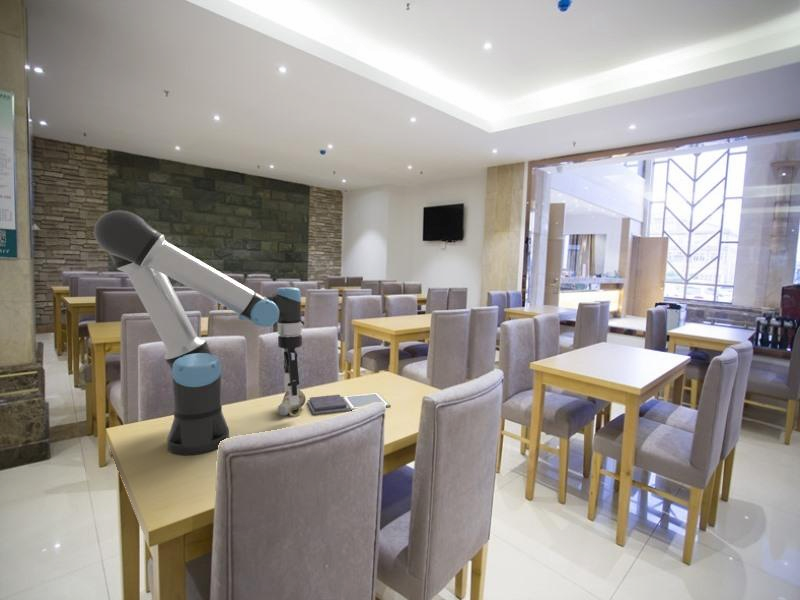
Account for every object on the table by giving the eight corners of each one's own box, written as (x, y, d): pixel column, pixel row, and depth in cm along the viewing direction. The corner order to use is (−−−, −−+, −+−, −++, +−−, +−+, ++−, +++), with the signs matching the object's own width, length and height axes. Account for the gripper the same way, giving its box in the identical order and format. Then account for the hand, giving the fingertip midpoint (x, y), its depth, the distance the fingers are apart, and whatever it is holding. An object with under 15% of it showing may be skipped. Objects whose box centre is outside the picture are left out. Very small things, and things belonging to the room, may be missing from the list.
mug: (270, 417, 131) (274, 386, 135) (290, 421, 139) (293, 391, 143) (289, 415, 128) (292, 383, 132) (308, 419, 136) (310, 389, 140)
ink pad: (313, 414, 133) (313, 408, 133) (307, 402, 144) (307, 397, 144) (349, 410, 137) (349, 404, 137) (340, 399, 148) (340, 393, 148)
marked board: (351, 411, 137) (351, 409, 136) (341, 398, 150) (341, 396, 149) (390, 406, 142) (390, 404, 142) (377, 394, 155) (377, 392, 155)
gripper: (307, 341, 123) (309, 409, 126) (296, 327, 146) (298, 385, 149) (281, 343, 121) (283, 412, 123) (274, 329, 144) (276, 387, 146)
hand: (291, 397), depth 136 cm, fingers open, 13 cm apart
